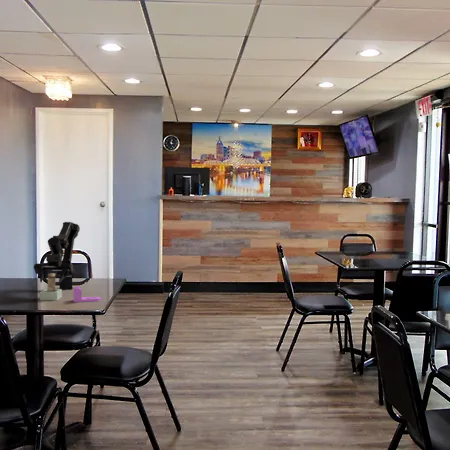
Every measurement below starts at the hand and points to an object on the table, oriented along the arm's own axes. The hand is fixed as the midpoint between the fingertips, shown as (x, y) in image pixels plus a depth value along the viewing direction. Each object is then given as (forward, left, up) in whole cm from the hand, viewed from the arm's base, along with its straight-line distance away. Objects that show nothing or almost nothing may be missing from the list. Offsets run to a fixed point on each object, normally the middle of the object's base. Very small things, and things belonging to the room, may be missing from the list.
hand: (50, 282), depth 253 cm
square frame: (0, -1, -9) cm, 9 cm away
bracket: (-18, +8, -9) cm, 22 cm away
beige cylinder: (0, -1, -9) cm, 9 cm away
